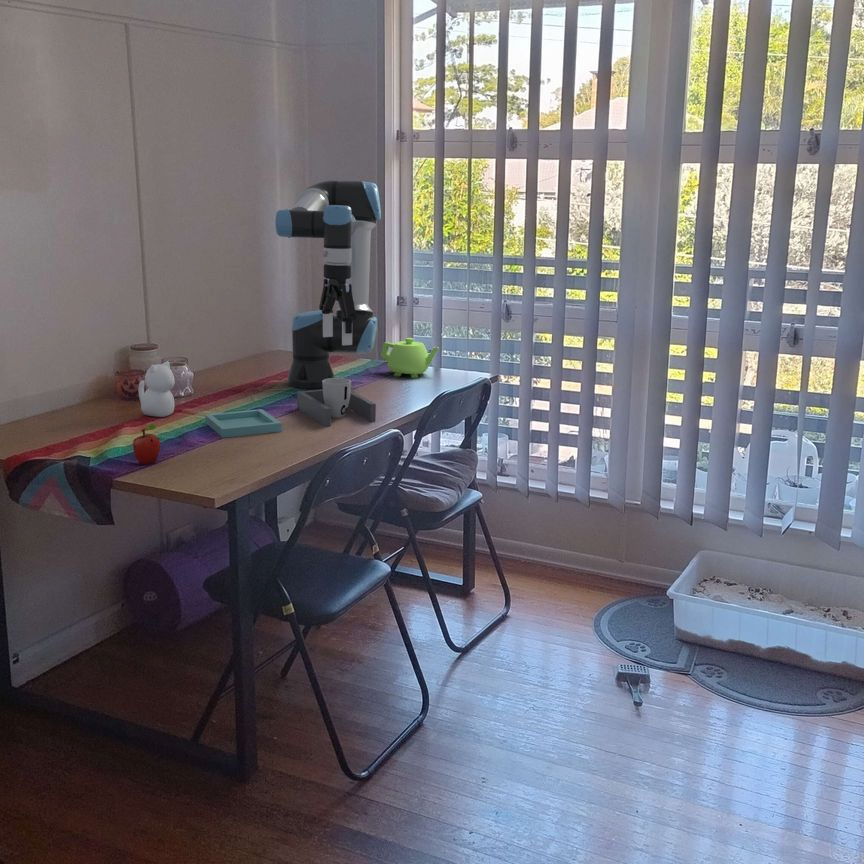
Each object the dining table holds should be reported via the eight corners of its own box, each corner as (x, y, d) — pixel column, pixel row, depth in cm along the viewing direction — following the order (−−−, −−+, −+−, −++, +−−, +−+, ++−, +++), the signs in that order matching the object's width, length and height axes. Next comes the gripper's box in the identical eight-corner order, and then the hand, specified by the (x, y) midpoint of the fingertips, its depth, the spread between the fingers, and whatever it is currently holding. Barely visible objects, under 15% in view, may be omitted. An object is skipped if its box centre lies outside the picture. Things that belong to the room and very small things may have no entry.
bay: (297, 408, 280) (297, 391, 279) (344, 403, 287) (344, 387, 286) (325, 426, 262) (325, 408, 260) (375, 421, 269) (375, 403, 267)
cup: (346, 420, 269) (346, 385, 266) (318, 417, 271) (318, 383, 268) (354, 413, 277) (354, 379, 274) (327, 410, 278) (327, 377, 276)
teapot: (442, 373, 333) (443, 337, 329) (431, 381, 320) (433, 343, 317) (387, 368, 337) (387, 333, 334) (374, 376, 325) (375, 339, 322)
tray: (205, 422, 262) (205, 414, 261) (262, 417, 270) (261, 409, 269) (222, 437, 249) (222, 429, 248) (281, 431, 256) (281, 423, 255)
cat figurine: (161, 421, 263) (159, 367, 259) (127, 414, 268) (125, 361, 264) (184, 414, 270) (182, 362, 266) (150, 407, 276) (148, 356, 272)
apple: (125, 464, 225) (123, 423, 222) (143, 457, 231) (141, 416, 228) (153, 469, 222) (150, 427, 219) (170, 461, 228) (168, 420, 226)
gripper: (307, 259, 271) (308, 334, 277) (343, 268, 250) (342, 349, 256) (332, 258, 274) (332, 332, 280) (369, 268, 253) (368, 347, 259)
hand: (337, 340), depth 268 cm, fingers open, 13 cm apart
